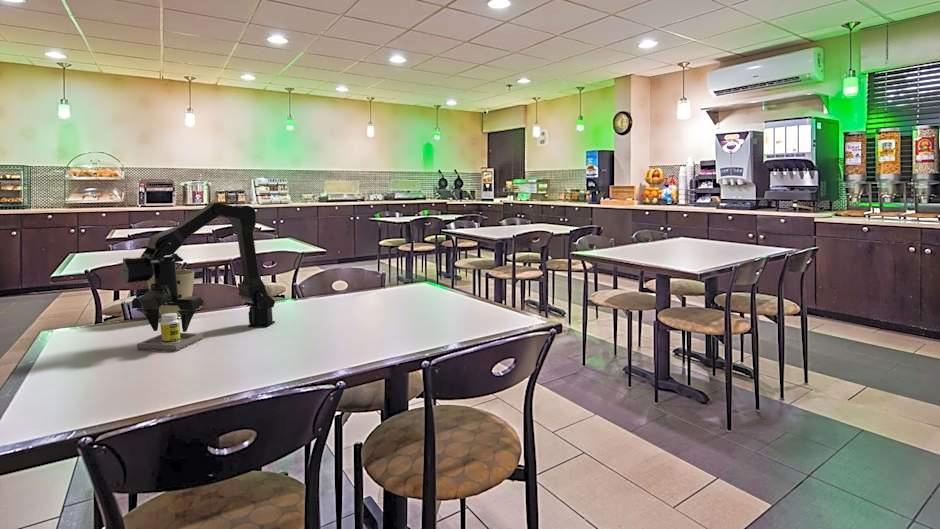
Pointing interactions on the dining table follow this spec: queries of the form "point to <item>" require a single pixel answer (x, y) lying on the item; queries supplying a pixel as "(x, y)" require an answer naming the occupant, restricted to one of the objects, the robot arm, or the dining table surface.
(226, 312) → the dining table surface
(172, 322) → the supplement bottle
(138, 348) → the tray
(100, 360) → the dining table surface
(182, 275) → the plant pot
